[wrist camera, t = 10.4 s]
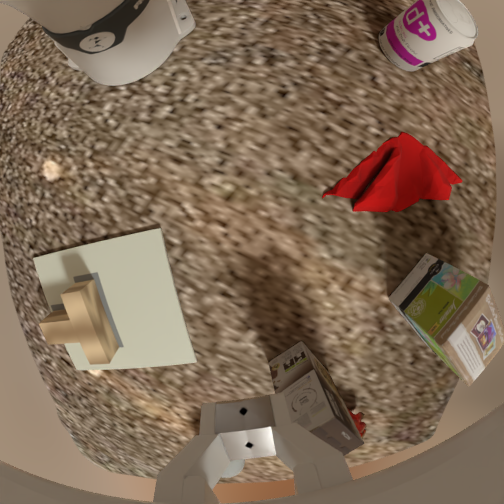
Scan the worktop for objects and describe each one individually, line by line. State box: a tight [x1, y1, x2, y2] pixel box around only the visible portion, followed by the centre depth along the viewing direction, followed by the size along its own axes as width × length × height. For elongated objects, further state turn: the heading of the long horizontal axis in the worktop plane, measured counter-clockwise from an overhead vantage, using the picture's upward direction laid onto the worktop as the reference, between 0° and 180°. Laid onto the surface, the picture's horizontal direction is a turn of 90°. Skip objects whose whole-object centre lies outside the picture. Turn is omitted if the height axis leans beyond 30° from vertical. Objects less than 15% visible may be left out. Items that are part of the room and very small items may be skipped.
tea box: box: [389, 253, 504, 386], centre depth 34 cm, size 15×10×15 cm
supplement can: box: [379, 0, 478, 71], centre depth 23 cm, size 8×8×15 cm
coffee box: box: [269, 341, 364, 456], centre depth 34 cm, size 9×6×16 cm
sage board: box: [33, 228, 197, 370], centre depth 37 cm, size 20×22×1 cm
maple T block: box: [39, 279, 119, 365], centre depth 34 cm, size 11×10×4 cm
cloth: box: [322, 132, 462, 212], centre depth 35 cm, size 26×14×2 cm, turn 88°
